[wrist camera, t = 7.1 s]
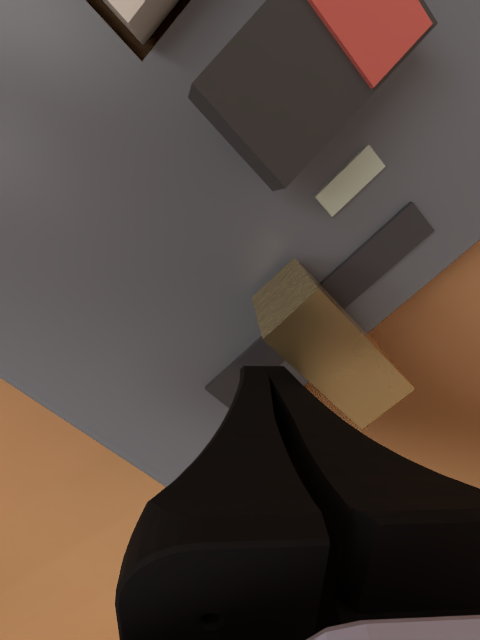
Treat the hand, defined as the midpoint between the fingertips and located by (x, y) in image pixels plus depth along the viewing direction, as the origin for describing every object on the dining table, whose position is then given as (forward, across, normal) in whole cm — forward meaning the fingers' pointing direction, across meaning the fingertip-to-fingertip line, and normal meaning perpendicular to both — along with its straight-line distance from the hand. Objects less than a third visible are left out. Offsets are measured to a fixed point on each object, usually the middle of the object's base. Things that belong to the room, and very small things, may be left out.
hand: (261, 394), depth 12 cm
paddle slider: (+1, -2, -2) cm, 3 cm away
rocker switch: (0, 0, -9) cm, 9 cm away
